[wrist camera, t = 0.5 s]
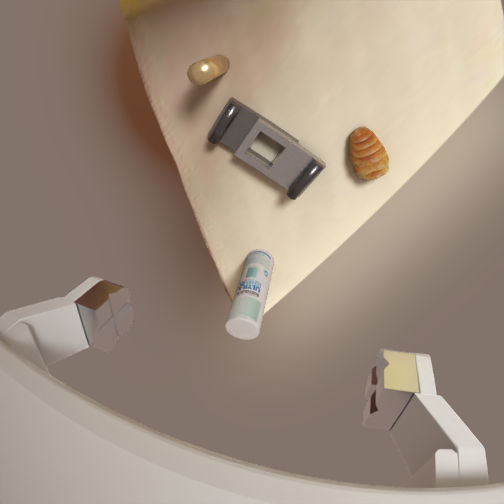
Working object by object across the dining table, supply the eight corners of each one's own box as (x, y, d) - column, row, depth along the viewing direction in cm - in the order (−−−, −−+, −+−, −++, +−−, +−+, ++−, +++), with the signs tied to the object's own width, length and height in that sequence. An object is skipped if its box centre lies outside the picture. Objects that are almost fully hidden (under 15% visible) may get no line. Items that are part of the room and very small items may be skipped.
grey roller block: (210, 131, 56) (201, 141, 53) (231, 97, 51) (224, 104, 47) (299, 189, 61) (297, 203, 57) (325, 160, 56) (325, 171, 52)
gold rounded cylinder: (215, 51, 46) (194, 57, 39) (233, 61, 47) (215, 69, 39) (205, 68, 48) (183, 78, 41) (222, 78, 49) (203, 89, 42)
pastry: (339, 132, 52) (341, 139, 49) (375, 120, 49) (379, 127, 46) (357, 177, 57) (359, 186, 54) (390, 167, 54) (394, 176, 51)
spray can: (273, 248, 71) (257, 320, 57) (275, 270, 76) (260, 341, 61) (245, 247, 73) (222, 317, 58) (248, 269, 77) (228, 337, 62)
